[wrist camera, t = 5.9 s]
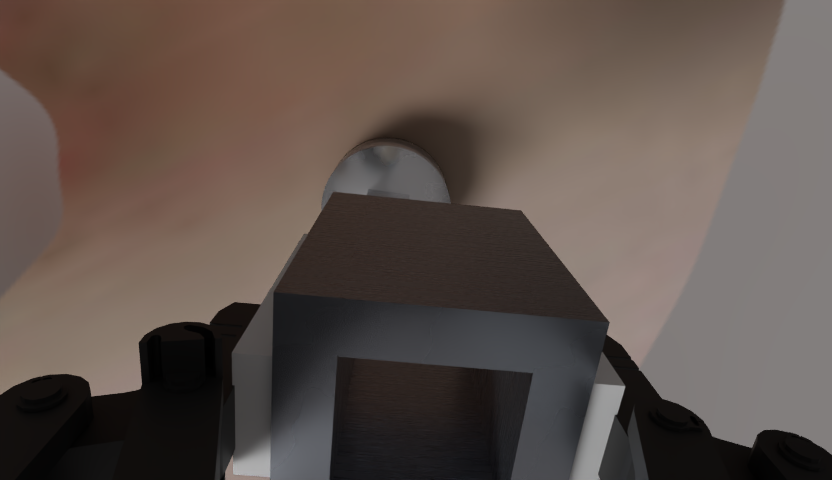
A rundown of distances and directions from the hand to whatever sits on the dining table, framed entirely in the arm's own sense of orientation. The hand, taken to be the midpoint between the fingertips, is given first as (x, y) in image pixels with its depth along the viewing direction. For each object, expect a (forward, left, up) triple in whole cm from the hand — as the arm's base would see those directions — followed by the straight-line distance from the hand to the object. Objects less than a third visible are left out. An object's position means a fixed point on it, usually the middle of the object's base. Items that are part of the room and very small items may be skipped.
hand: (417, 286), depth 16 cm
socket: (0, 0, 0) cm, 0 cm away
